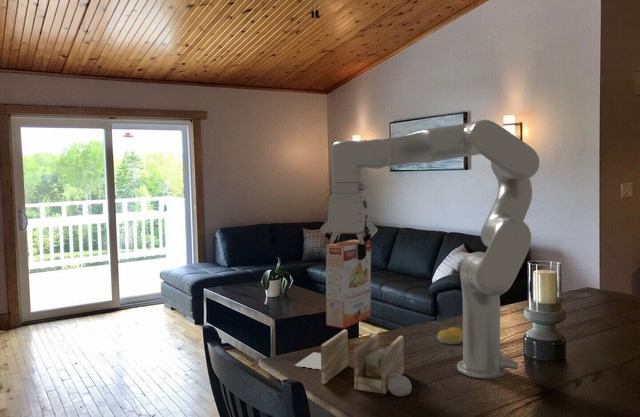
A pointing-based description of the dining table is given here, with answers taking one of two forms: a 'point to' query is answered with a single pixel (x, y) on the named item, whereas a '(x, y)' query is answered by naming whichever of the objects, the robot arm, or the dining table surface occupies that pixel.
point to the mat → (311, 361)
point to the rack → (361, 361)
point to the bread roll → (451, 336)
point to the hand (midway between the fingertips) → (349, 258)
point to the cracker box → (347, 284)
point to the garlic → (399, 385)
